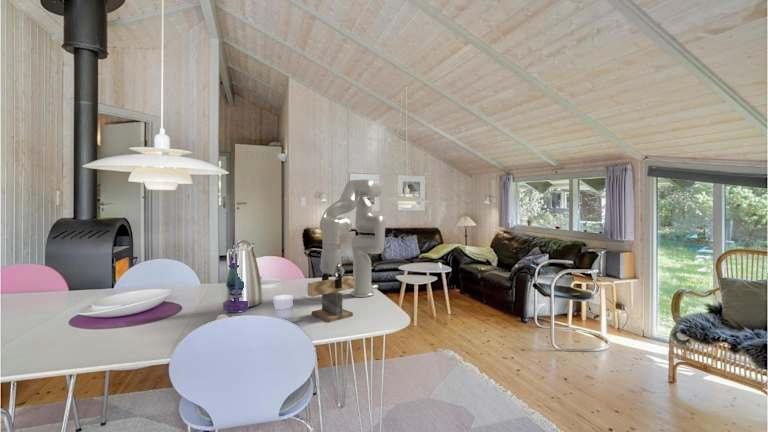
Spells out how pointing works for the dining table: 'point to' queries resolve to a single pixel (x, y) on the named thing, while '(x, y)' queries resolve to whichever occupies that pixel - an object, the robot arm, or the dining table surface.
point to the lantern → (234, 288)
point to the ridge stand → (332, 308)
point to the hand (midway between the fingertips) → (331, 286)
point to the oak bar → (329, 286)
